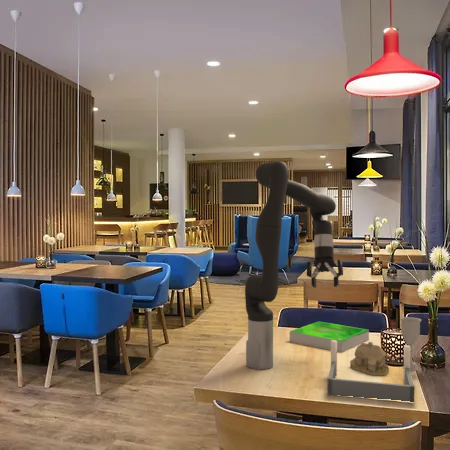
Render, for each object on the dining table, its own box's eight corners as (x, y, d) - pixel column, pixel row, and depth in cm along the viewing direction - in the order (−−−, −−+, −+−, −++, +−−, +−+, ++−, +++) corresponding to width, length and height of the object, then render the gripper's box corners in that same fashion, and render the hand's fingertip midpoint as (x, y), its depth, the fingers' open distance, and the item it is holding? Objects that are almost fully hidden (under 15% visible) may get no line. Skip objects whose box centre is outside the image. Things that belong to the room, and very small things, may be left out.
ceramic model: (394, 370, 178) (395, 342, 178) (382, 378, 169) (383, 349, 169) (357, 362, 187) (357, 336, 187) (344, 369, 178) (344, 342, 178)
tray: (289, 342, 216) (289, 331, 216) (318, 331, 235) (318, 321, 235) (342, 353, 200) (342, 341, 200) (368, 341, 219) (368, 329, 219)
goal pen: (415, 403, 147) (416, 363, 146) (326, 395, 154) (326, 356, 153) (409, 381, 166) (410, 345, 166) (331, 374, 173) (331, 340, 173)
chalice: (421, 367, 181) (422, 318, 180) (420, 372, 174) (421, 321, 174) (400, 364, 184) (400, 316, 183) (398, 370, 177) (399, 320, 177)
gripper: (303, 246, 200) (304, 287, 197) (338, 244, 193) (340, 285, 190) (310, 249, 206) (311, 288, 203) (343, 246, 200) (345, 287, 196)
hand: (325, 287), depth 197 cm, fingers open, 8 cm apart
